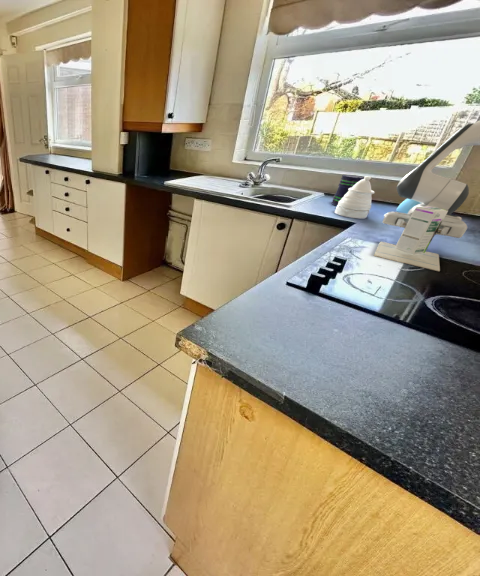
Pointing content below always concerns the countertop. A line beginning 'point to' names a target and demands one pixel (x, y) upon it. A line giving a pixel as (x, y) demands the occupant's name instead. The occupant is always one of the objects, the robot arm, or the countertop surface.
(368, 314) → the countertop surface
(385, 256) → the wooden board
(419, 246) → the syrup box
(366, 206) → the honey pot
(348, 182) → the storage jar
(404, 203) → the sugar bowl
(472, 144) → the robot arm
